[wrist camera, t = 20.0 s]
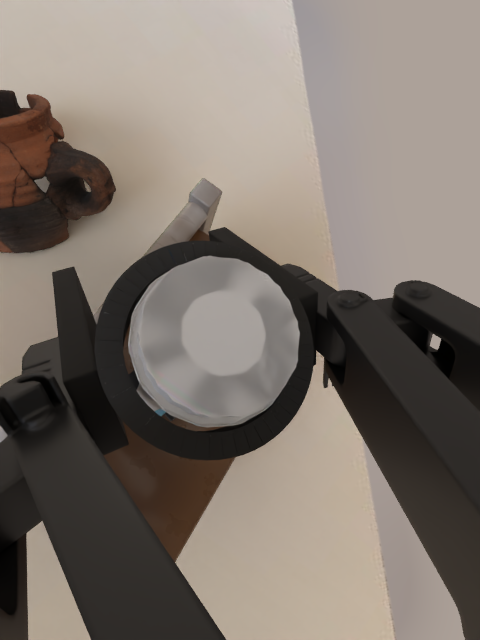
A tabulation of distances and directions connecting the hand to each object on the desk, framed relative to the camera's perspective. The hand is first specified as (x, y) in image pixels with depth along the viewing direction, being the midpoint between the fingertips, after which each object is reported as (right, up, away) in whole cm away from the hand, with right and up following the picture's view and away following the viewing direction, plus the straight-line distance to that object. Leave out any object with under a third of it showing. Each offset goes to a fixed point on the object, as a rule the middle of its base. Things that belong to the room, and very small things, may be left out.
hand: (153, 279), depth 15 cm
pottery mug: (-12, +7, +13) cm, 19 cm away
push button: (+1, -4, +3) cm, 5 cm away
